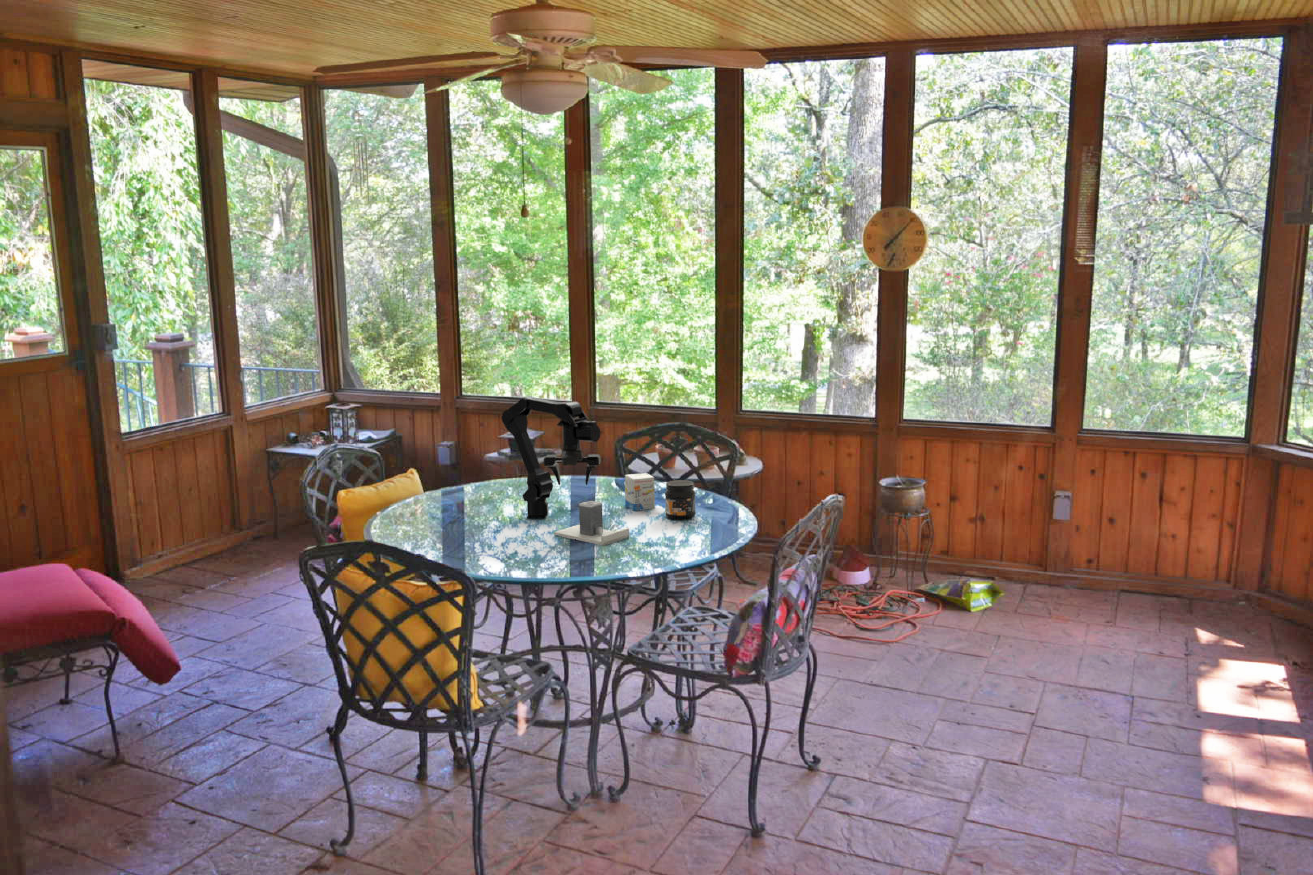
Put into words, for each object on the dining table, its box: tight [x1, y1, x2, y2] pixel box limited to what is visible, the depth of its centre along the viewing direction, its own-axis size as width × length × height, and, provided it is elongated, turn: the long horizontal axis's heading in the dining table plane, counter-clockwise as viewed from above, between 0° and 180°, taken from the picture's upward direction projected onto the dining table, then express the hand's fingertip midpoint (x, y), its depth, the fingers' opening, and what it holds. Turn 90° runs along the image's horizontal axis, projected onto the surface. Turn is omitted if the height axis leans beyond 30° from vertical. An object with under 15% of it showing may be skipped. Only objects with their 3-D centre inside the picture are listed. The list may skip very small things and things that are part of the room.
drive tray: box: [553, 523, 630, 547], centre depth 346 cm, size 22×12×4 cm, turn 51°
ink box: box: [624, 472, 656, 512], centre depth 383 cm, size 9×8×12 cm
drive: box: [578, 500, 604, 536], centre depth 345 cm, size 5×6×10 cm
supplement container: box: [664, 479, 697, 521], centre depth 368 cm, size 10×10×12 cm
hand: (573, 484), depth 362 cm, fingers open, 9 cm apart
